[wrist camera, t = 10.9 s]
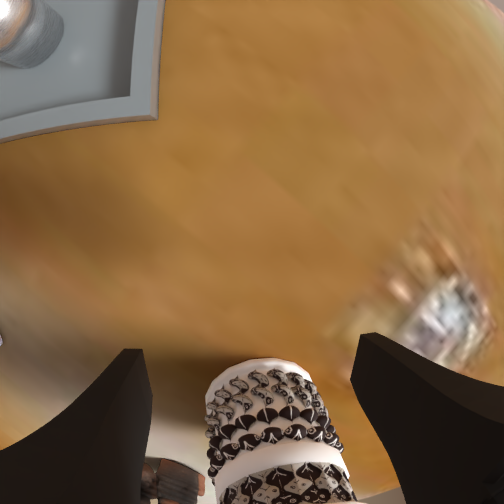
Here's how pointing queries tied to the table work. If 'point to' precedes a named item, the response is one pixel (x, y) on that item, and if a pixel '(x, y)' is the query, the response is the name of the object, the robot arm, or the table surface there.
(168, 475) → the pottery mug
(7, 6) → the shaker
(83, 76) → the tray
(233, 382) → the decorative candle
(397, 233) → the table surface
